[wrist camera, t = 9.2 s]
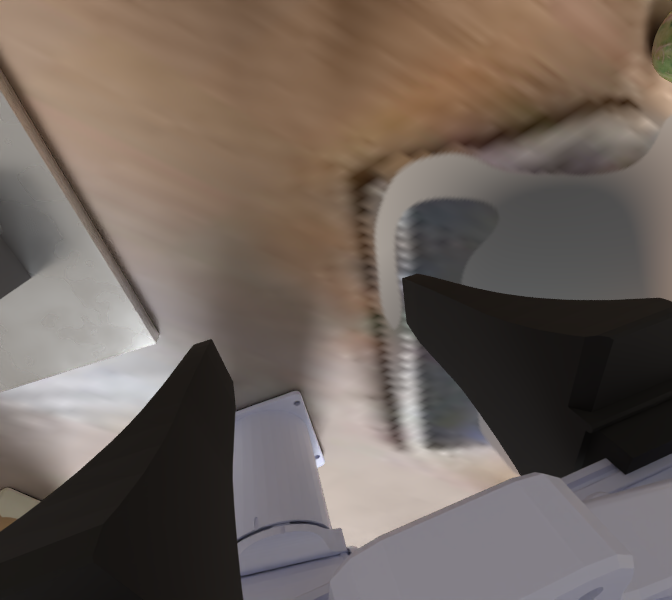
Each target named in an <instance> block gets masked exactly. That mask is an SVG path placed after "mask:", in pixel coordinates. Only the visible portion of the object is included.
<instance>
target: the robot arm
mask: <svg viewBox="0 0 672 600" xmlns="http://www.w3.org/2000/svg"><path fill="white" fill-rule="evenodd" d="M402 282H403V292H404V301H405V311H406V321H407V324H408V325H409V327H410V328H411V330H412V332H413V333H414V335H415V336H416V337H417V339H418V340H419V342H420V343H421V344H422V345H423V346H424V348H425V349H426V350H427V351H428V352H429V353H430V354H431V355H432V356H433V358H434V359H435V360H436V361H437V362H438V363H439V364H440V365H441V366H442V367H443V369H444V370H445V371H446V372H447V373H448V374H449V375H450V376H451V377H452V378H453V380H454V381H455V382H456V383H457V384H458V385H459V386H460V388H461V389H462V390H463V391H464V393H465V394H466V395H467V397H468V398H469V399H470V401H471V402H472V404H473V405H474V406H475V408H476V409H477V410H478V412H479V413H480V414H481V416H482V417H483V419H484V420H485V422H486V423H487V425H488V426H489V428H490V429H491V430H492V432H493V433H494V435H495V436H496V438H497V439H498V441H499V442H500V444H501V445H502V447H503V449H504V450H505V451H506V453H507V455H508V456H509V458H510V459H511V461H512V462H513V464H514V465H515V467H516V469H517V470H518V472H519V474H520V475H521V476H519V477H515V478H511V479H509V480H507V481H504V482H502V483H500V484H497V485H495V486H493V487H491V488H488V489H486V490H484V491H481V492H479V493H477V494H475V495H472V496H470V497H468V498H465V499H463V500H461V501H459V502H456V503H454V504H452V505H449V506H447V507H445V508H443V509H440V510H438V511H436V512H433V513H431V514H429V515H427V516H424V517H422V518H420V519H417V520H415V521H413V522H411V523H408V524H406V525H404V526H401V527H399V528H397V529H395V530H392V531H390V532H388V533H385V534H383V535H381V536H379V537H377V538H375V539H374V540H372V541H370V542H369V543H367V544H365V545H364V546H362V547H360V548H357V547H355V546H350V547H346V544H345V540H344V537H343V533H342V529H341V528H338V529H332V527H331V523H330V519H329V515H328V510H327V506H326V502H325V498H324V494H323V490H322V486H321V482H320V477H319V473H318V469H317V468H318V467H320V466H322V465H323V464H324V463H325V460H324V457H323V454H322V451H321V448H320V446H319V443H318V440H317V437H316V435H315V432H314V429H313V426H312V423H311V421H310V418H309V415H308V412H307V409H306V407H305V404H304V401H303V398H302V396H301V393H300V392H299V391H293V392H290V393H287V394H284V395H281V396H279V397H276V398H273V399H270V400H267V401H264V402H262V403H259V404H256V405H253V406H250V407H248V408H245V409H242V410H239V411H236V412H235V396H234V387H233V381H232V379H231V377H230V375H229V373H228V371H227V369H226V367H225V365H224V363H223V361H222V359H221V357H220V355H219V353H218V351H217V349H216V347H215V345H214V343H213V341H212V339H210V340H207V341H204V342H201V343H198V344H195V345H193V346H192V348H191V349H190V350H189V351H188V353H187V354H186V355H185V356H184V358H183V359H182V361H181V362H180V363H179V365H178V366H177V367H176V369H175V370H174V371H173V372H172V374H171V375H170V376H169V378H168V379H167V380H166V382H165V383H164V384H163V386H162V387H161V388H160V389H159V390H158V392H157V393H156V394H155V395H154V396H153V397H152V399H151V400H150V401H149V402H148V403H147V405H146V406H145V407H144V408H143V409H142V411H141V412H140V413H139V414H138V415H137V416H136V417H135V418H134V419H133V420H132V421H131V423H130V424H129V425H128V426H127V427H126V428H125V429H124V430H123V431H122V432H121V433H120V434H119V435H118V436H117V437H116V438H115V439H114V440H113V441H112V442H111V443H109V444H108V445H107V446H106V447H105V448H104V449H103V450H102V451H101V452H99V453H98V454H97V455H96V456H95V457H94V458H93V459H92V460H91V461H89V462H88V463H87V464H86V465H85V466H84V467H83V468H82V469H81V470H79V471H78V472H77V473H76V474H75V475H73V476H72V477H71V478H70V479H69V480H67V481H66V482H65V483H64V484H62V485H61V486H60V487H59V488H58V489H56V490H55V491H54V492H53V493H51V494H50V495H49V496H47V497H46V498H45V499H44V500H42V501H41V502H40V503H38V504H37V505H36V506H35V507H33V508H32V509H31V510H29V511H28V512H27V513H25V514H24V515H23V516H21V517H20V518H18V519H17V520H16V521H14V522H13V523H11V524H10V525H9V526H7V527H6V528H4V529H3V530H2V531H0V600H672V302H671V301H669V300H666V299H662V298H646V299H625V300H560V299H544V298H533V297H524V296H516V295H509V294H502V293H496V292H491V291H487V290H482V289H477V288H473V287H469V286H465V285H461V284H457V283H453V282H449V281H446V280H442V279H438V278H434V277H430V276H426V275H421V274H415V275H412V276H408V277H405V278H402ZM295 401H298V402H295Z"/></svg>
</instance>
